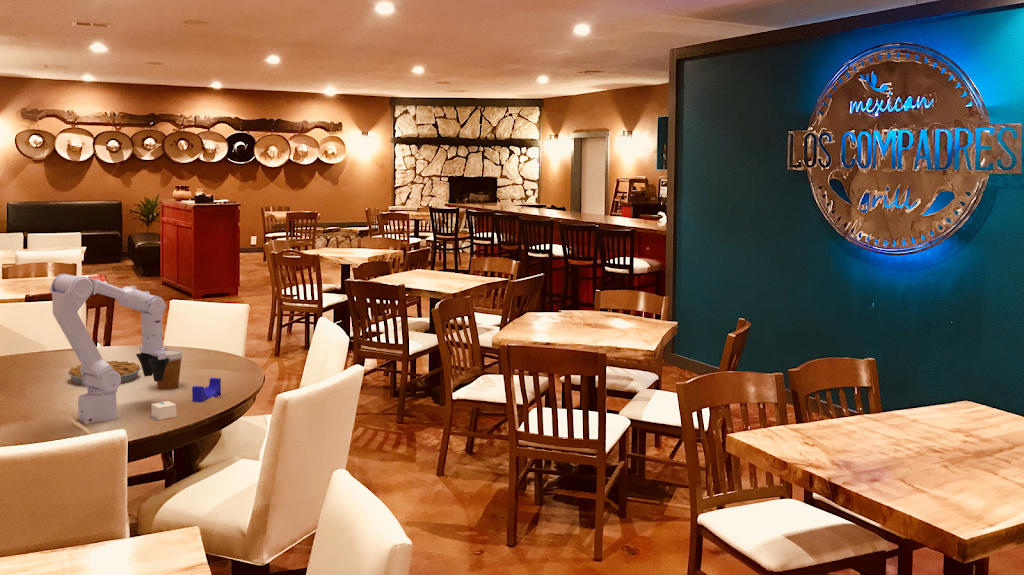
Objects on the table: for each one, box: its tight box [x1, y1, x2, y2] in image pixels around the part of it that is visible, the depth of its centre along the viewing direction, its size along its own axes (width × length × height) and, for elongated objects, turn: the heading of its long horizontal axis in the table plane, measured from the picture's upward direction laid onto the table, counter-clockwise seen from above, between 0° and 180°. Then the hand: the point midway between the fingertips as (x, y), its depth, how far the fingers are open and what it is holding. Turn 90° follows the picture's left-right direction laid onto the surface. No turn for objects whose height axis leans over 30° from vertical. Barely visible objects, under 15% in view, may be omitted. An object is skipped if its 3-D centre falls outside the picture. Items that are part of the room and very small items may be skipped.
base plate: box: [148, 413, 179, 422], centre depth 234 cm, size 7×5×1 cm
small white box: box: [151, 400, 177, 421], centre depth 234 cm, size 5×5×4 cm
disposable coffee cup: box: [156, 348, 184, 390], centre depth 268 cm, size 10×10×12 cm
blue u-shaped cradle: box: [191, 377, 222, 403], centre depth 255 cm, size 12×4×6 cm, turn 172°
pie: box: [67, 360, 142, 386], centre depth 276 cm, size 22×22×5 cm
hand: (153, 378), depth 244 cm, fingers open, 7 cm apart
